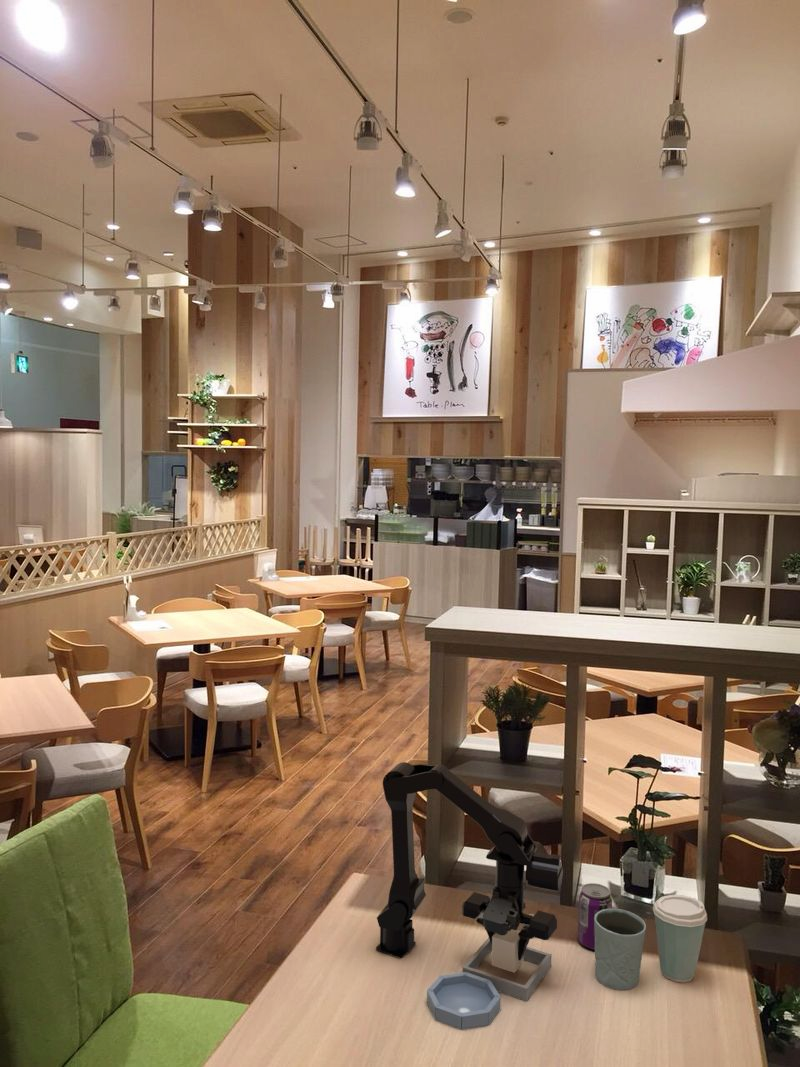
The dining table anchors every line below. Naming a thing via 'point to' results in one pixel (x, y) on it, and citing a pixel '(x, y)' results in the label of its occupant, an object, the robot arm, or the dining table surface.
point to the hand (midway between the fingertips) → (507, 955)
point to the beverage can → (591, 911)
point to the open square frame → (506, 985)
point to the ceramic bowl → (463, 1000)
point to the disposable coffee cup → (679, 935)
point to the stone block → (506, 951)
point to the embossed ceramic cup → (618, 948)
